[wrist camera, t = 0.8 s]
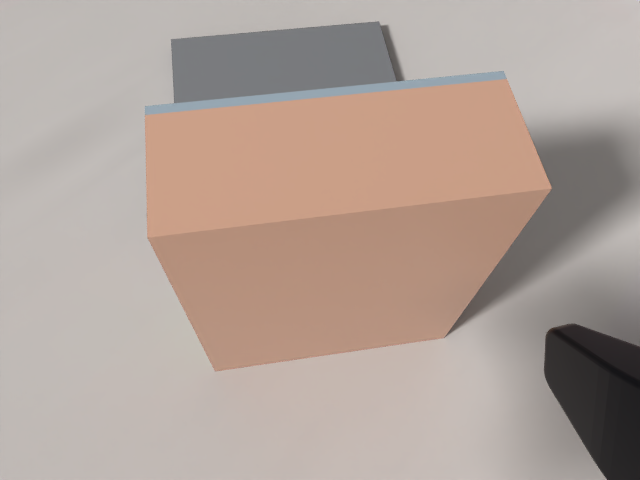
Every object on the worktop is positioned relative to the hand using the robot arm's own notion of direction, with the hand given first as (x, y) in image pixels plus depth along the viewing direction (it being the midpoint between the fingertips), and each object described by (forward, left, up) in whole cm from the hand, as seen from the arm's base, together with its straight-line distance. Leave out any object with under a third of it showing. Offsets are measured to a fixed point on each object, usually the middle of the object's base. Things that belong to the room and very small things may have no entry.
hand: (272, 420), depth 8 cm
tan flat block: (+5, -6, -15) cm, 17 cm away
